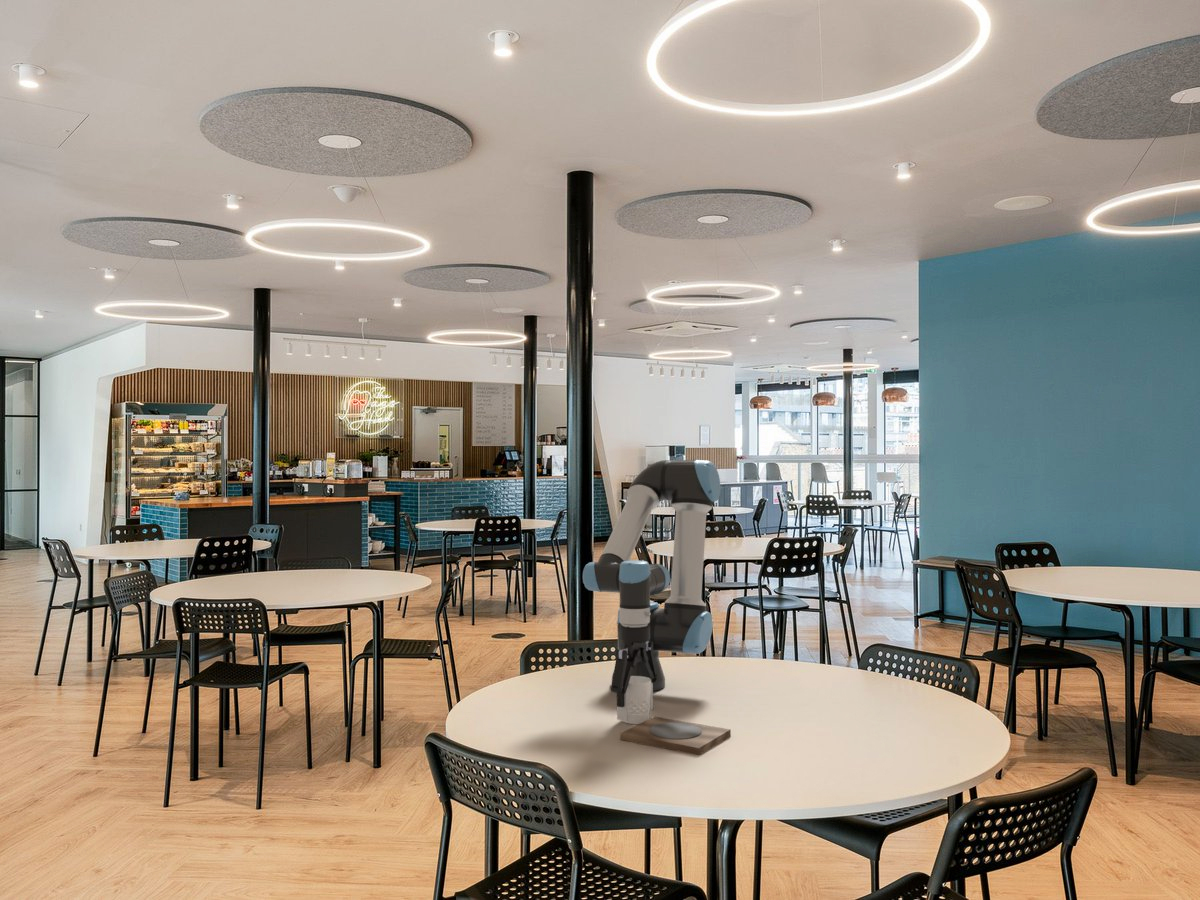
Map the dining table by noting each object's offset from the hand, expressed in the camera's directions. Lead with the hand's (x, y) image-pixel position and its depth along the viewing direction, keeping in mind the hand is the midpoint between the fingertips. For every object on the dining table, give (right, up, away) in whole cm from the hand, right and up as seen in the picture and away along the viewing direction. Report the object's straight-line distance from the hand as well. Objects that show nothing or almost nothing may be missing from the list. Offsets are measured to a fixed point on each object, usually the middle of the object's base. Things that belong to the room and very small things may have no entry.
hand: (635, 714), depth 219 cm
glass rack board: (+9, -1, -14) cm, 17 cm away
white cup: (0, -2, 0) cm, 2 cm away
